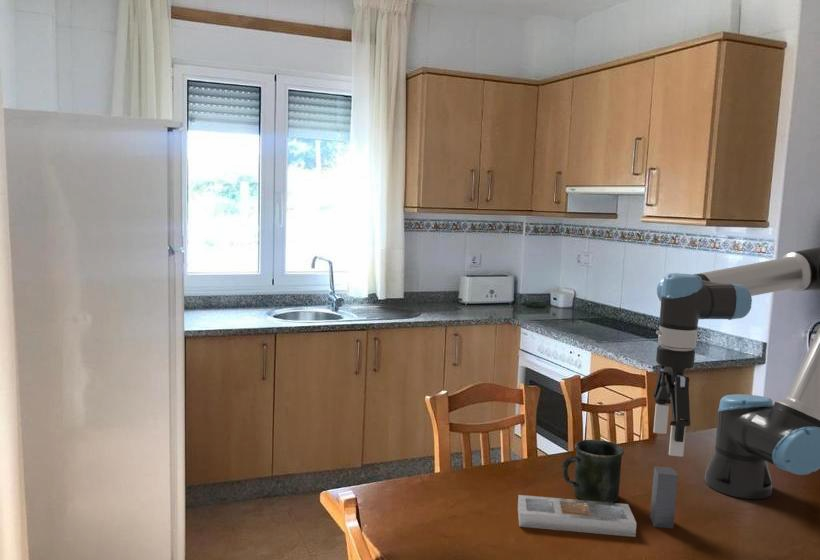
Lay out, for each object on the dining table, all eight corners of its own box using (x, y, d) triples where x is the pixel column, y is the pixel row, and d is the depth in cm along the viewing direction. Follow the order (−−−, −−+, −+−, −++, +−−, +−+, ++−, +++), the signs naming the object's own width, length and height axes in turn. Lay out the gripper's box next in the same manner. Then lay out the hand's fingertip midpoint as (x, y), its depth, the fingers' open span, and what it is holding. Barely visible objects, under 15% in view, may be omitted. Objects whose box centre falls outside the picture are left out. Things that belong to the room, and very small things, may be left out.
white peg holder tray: (627, 517, 151) (628, 504, 150) (635, 537, 142) (636, 523, 142) (517, 507, 153) (518, 494, 153) (519, 526, 145) (520, 513, 144)
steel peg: (668, 519, 150) (672, 467, 149) (673, 528, 146) (677, 475, 145) (649, 518, 151) (654, 466, 149) (654, 526, 147) (658, 473, 145)
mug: (629, 504, 157) (633, 454, 156) (572, 509, 153) (575, 458, 152) (605, 484, 167) (608, 438, 166) (550, 489, 164) (553, 441, 162)
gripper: (644, 334, 156) (637, 423, 159) (673, 359, 132) (663, 464, 134) (678, 336, 155) (670, 425, 158) (713, 362, 131) (703, 467, 133)
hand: (667, 443), depth 146 cm, fingers open, 13 cm apart
